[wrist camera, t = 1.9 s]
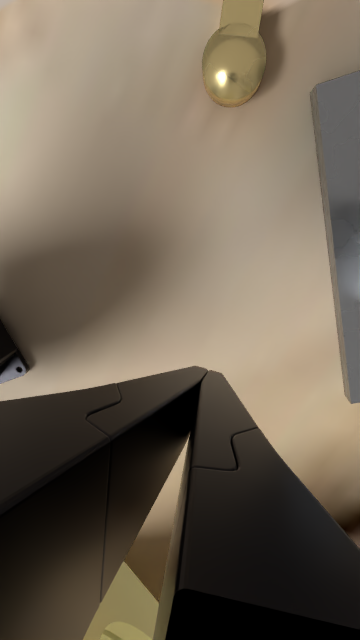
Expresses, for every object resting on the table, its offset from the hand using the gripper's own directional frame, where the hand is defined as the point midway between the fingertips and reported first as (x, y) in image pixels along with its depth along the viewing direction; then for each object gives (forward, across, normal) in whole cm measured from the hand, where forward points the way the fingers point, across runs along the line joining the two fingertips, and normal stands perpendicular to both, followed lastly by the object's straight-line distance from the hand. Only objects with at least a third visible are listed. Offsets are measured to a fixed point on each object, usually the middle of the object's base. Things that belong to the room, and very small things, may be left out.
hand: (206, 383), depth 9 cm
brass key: (+12, -3, +13) cm, 18 cm away
